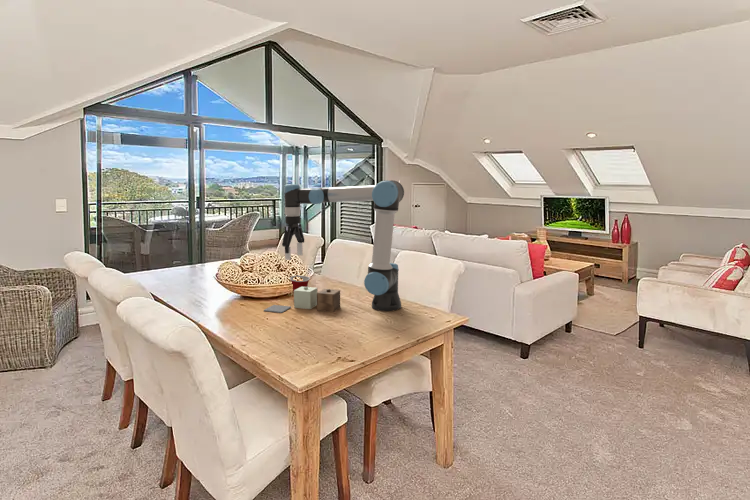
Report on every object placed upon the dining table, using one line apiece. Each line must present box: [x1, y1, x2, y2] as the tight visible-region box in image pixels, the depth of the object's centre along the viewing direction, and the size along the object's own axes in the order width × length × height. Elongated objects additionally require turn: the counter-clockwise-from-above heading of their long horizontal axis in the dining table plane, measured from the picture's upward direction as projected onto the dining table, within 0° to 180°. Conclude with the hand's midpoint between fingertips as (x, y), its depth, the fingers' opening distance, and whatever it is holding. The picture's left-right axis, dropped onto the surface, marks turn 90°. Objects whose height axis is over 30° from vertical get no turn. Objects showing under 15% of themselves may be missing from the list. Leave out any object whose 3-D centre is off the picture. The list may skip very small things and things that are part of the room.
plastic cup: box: [289, 275, 311, 294], centre depth 258 cm, size 11×11×12 cm
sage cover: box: [293, 286, 319, 310], centre depth 245 cm, size 9×9×10 cm
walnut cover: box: [316, 288, 341, 313], centre depth 240 cm, size 9×9×10 cm
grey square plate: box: [263, 304, 292, 314], centre depth 239 cm, size 10×10×1 cm
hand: (294, 257), depth 241 cm, fingers open, 13 cm apart
